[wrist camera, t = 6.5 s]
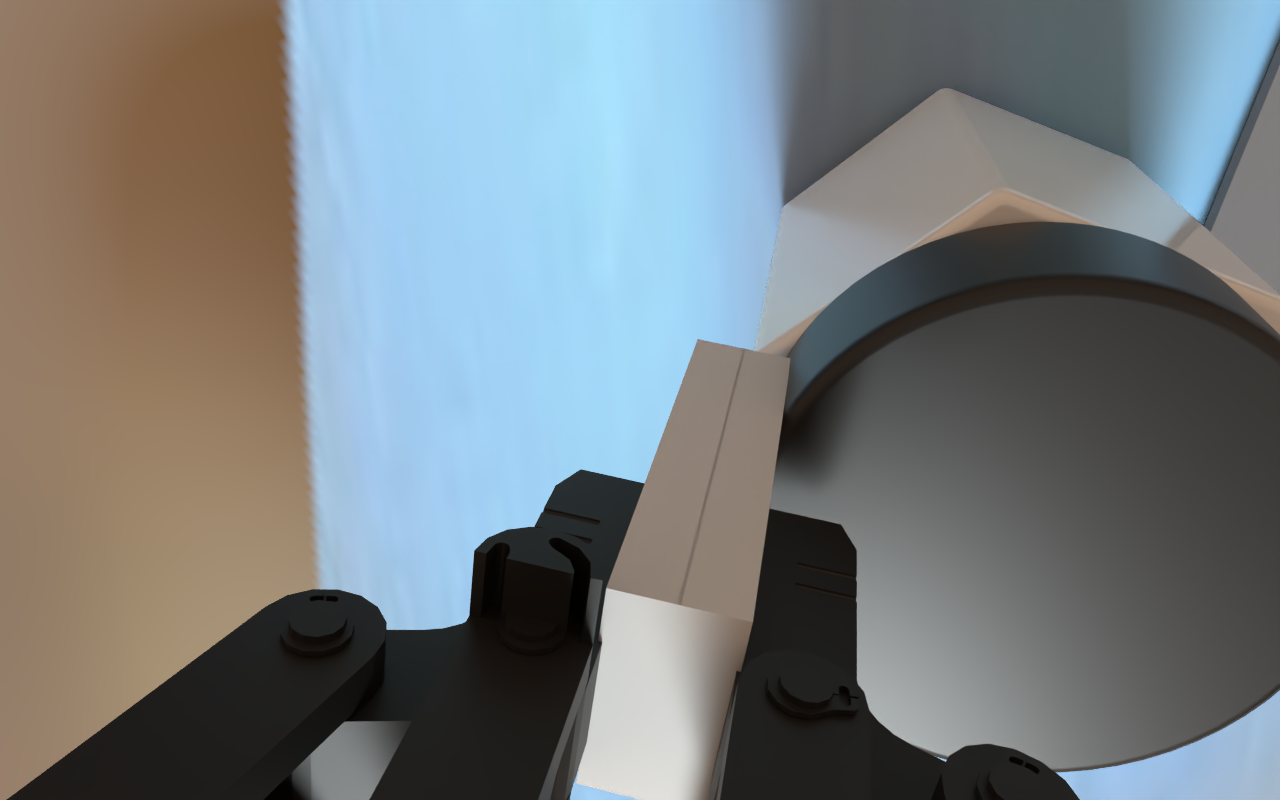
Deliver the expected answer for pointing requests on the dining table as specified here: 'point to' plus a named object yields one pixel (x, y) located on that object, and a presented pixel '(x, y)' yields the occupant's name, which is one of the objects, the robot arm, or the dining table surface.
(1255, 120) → the mat
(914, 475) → the jar
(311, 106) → the dining table surface
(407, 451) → the dining table surface
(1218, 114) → the dining table surface
